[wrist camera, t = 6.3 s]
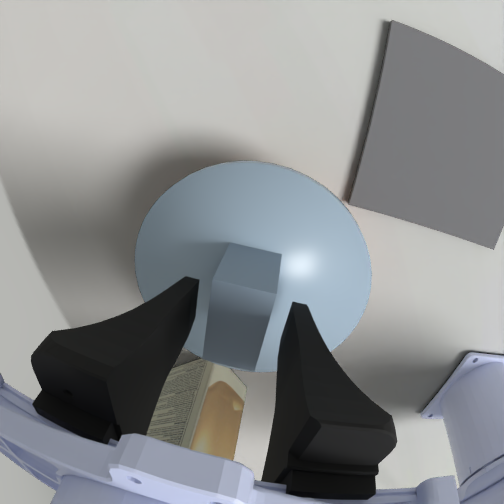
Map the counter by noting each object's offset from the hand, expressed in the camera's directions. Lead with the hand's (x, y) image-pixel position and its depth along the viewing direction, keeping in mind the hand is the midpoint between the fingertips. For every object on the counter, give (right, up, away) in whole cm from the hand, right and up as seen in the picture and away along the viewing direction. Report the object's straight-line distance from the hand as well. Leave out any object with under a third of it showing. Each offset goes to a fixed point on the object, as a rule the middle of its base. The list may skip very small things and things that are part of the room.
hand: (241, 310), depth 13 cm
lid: (0, +1, +2) cm, 2 cm away
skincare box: (-3, -7, +11) cm, 13 cm away
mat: (+11, +8, 0) cm, 14 cm away
